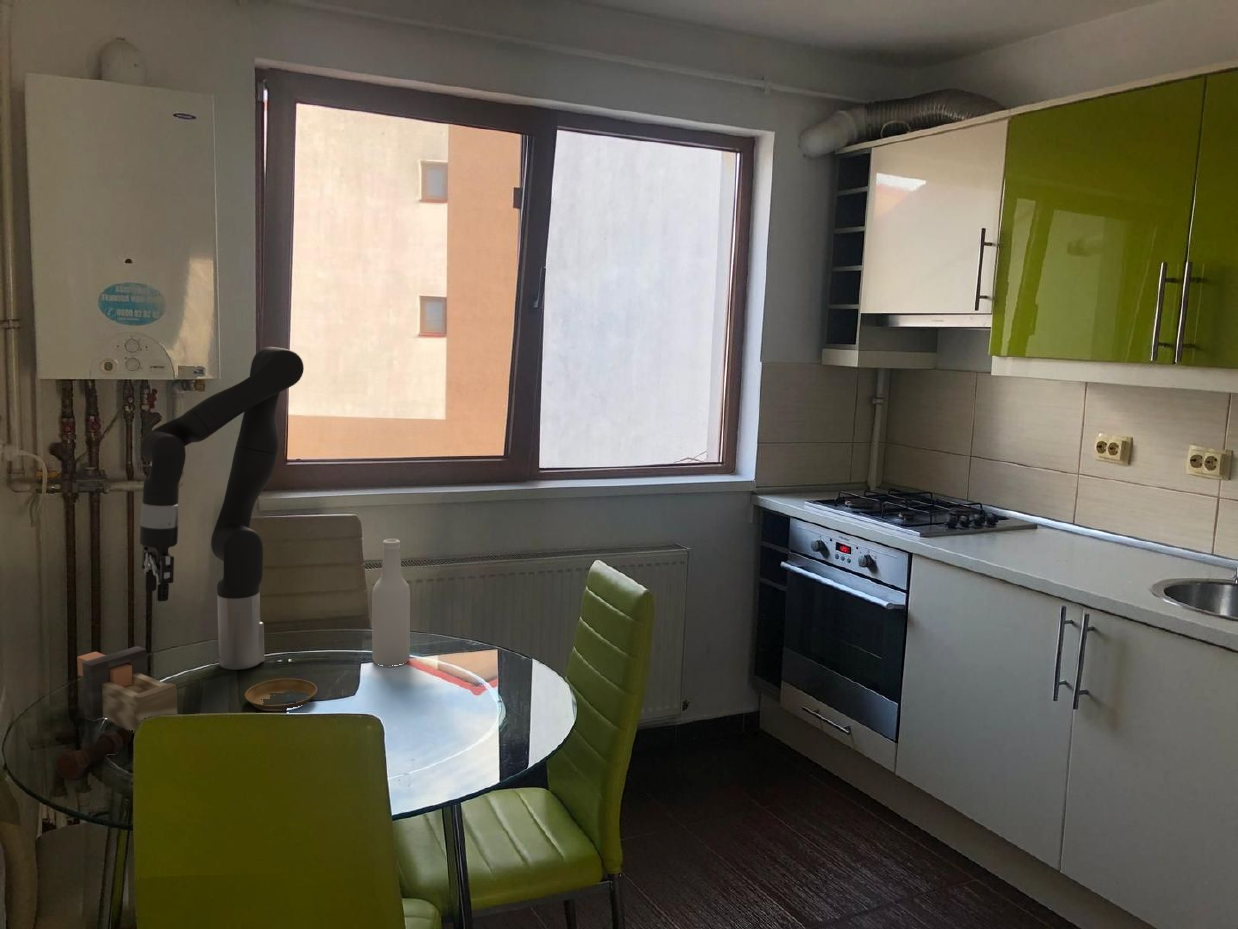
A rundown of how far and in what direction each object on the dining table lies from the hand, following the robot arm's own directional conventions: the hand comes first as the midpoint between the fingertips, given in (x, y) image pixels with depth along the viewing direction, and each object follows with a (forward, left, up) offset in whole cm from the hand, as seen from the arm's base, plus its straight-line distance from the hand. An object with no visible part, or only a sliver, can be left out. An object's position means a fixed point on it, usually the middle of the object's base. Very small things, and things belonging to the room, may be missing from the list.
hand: (156, 595), depth 220 cm
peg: (+13, +5, -14) cm, 20 cm away
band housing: (+11, +15, -20) cm, 28 cm away
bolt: (+24, +29, -21) cm, 42 cm away
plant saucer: (-14, +27, -21) cm, 37 cm away
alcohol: (-45, +23, -20) cm, 55 cm away
